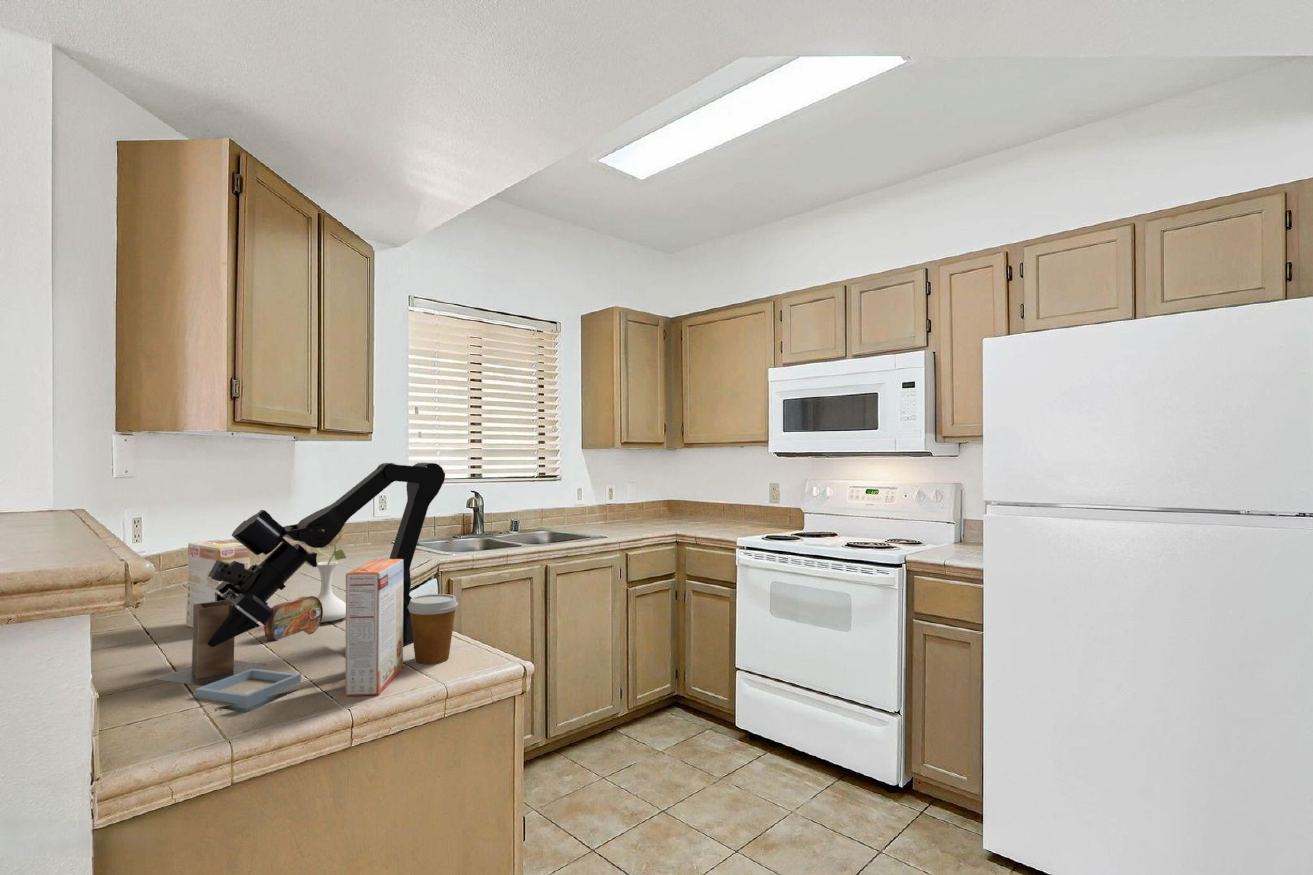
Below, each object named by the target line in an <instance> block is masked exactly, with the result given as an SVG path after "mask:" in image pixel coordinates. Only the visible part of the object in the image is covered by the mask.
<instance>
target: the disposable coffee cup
mask: <svg viewBox="0 0 1313 875" xmlns="http://www.w3.org/2000/svg"><path fill="white" fill-rule="evenodd" d="M458 605H459V602H458V601H457V598H456V595H453V594H448V593H447V594H445V593H434V594H432V593H431V594H423V595H418V596H414V597H412V599H411V600H410V603H409V605H408V609H409V612H410V617H411V626H412V635H413V642H412V644H413V652H414V662H415V663H416V664H417V663H418V664H420V665H435V664H440V663H444V662H446V661H448V660H449V657H450V650H451V644H452V637H453V630H454V622H455V616H456V614H455V613H456V610H457V609H458Z"/></svg>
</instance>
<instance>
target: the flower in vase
mask: <svg viewBox="0 0 1313 875" xmlns="http://www.w3.org/2000/svg"><path fill="white" fill-rule="evenodd" d="M345 526H346V524H345V525H344V526H343V528H342V530H341V531H340V532H339V533H338V534H337V536H336V537H335V538H334V539H333V540H332V541H331V542H330V543H329V544H328V545H327V546H325V547H322V548H317V551H318V552H319V553H320V554H321V555H323V556H325V557H327V558H329V560H328V561H322V562H321V561H320V562H317V566H316V568H317V569H318V572H319V575H320V591H319V594H318V595H317V596H316V597H317V598H318V599H319V600H320V602H321V604H322V607H323V616H322V620H321V623H326V622H327V623H328V622H335V621H338V620H342V619H344V618H346V602H344V601H343V600H342V599H340V598H338V597H337V596H336V595H335V594H334V593H333V590H332V580H333V579H332V578H333V573H334V570H335V568H336V566H338V563H339V562H338V561H339V560H344V559H347V556H346V553H345V552H344V550H343V549H339V550H337V545H336V544H338V543H339V541H341V540H342V537H343V536H344V535H345V534H346V531H345V529H346V527H345ZM329 547H334V551H333V553H332V555H331V556H330V555H329V554H328V553H326V552H324V551H323V550H324V549H329ZM333 558H335V560H336V561H332V559H333Z"/></svg>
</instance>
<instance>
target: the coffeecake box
mask: <svg viewBox="0 0 1313 875" xmlns="http://www.w3.org/2000/svg"><path fill="white" fill-rule="evenodd" d="M187 550H188V551H187V553H188V554H187V582H186V583H187V585H186V589H187V590H186V615H185V626H186V627H188V628H192V629H193V605H194V604H199V603H207V602H215V595H214V593H215V592H216V593H218V594H220V592H219V591H218V590H216V589H215V588H217V587H218V586H219V585H220V584H221V583H222V582H223V581H217V580H214V579H212V578H211V577H209V576H208V575H209V573H210V571H211V570H212V568H213V566H214V564H215V562H216V561H217V560H220V561H223V562H227V563H232V562H233V561H236V562H239V563H243V564H245V568H246V569H249V568H250V567H251V564H250V563H251V551H250V550H249V549H248V548H246V547H245V546H244V545H243V544H241V543H240V542H239V543H238V542H235V541H234V542H233V541H225V540H219V539H216V540H206V541H205V540H204V541H203V540H202V541H197V542H188V547H187ZM236 608H239V606H238V607H236Z"/></svg>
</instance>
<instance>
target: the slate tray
mask: <svg viewBox="0 0 1313 875" xmlns="http://www.w3.org/2000/svg"><path fill="white" fill-rule="evenodd" d="M251 679H256V680H265V681H273V682H274V683H271V684H269V685H266V686H264V687H261V688H258V689H256V690H254V691H251V692H249V693H242V692H234V691H228V690H224V689H227V688H229V687H232V686H234V685H238V684H241V683H242V682H245V681H247V680H251ZM301 681H302V674H300V673H290V672H283V671H276V670H269V669H268V670H266V669H261V668H257V669H253V668H252V669H249V670H247V671H244V672H241V673H238V674H236V675H233V676H230V677H227V678H224V679H222V680H219V681H216V682H213V683H211V684H208V685H205V686H200V687H198V688H195V689H194V698H196V699H202V700H210V701H216V702H222V703H229V704H227V705H223V706H218V707H217V709H219V710H227V711H234V712H240V713H248V712H252V711H253V710H256V709H257V708H260V707H263V706H265V705H267V704H269V703H272V702H274V701H276V699H277V700H279V699H280V698H284V697H285V696H288V695H290V694H293V693H295V692H298V689H296V690H291V691H286V692H281V691H284V690H286V689H289V688H291V687H293V686H295V685H298V684H301ZM279 692H281V693H279ZM277 693H278V694H277ZM287 694H288V695H287ZM278 698H279V699H278ZM230 703H231V704H230Z"/></svg>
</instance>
